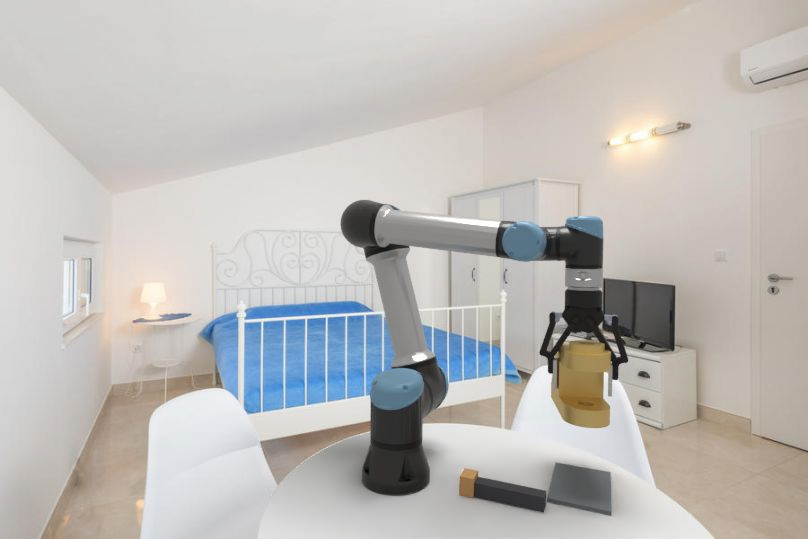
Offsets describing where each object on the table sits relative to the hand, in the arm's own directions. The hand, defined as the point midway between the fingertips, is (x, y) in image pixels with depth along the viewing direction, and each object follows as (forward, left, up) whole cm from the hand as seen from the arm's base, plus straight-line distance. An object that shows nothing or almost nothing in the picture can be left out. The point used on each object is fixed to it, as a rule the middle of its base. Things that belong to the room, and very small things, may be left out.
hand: (581, 391), depth 99 cm
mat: (0, 0, -21) cm, 21 cm away
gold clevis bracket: (0, +2, -5) cm, 5 cm away
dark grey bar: (-14, -12, -21) cm, 28 cm away
